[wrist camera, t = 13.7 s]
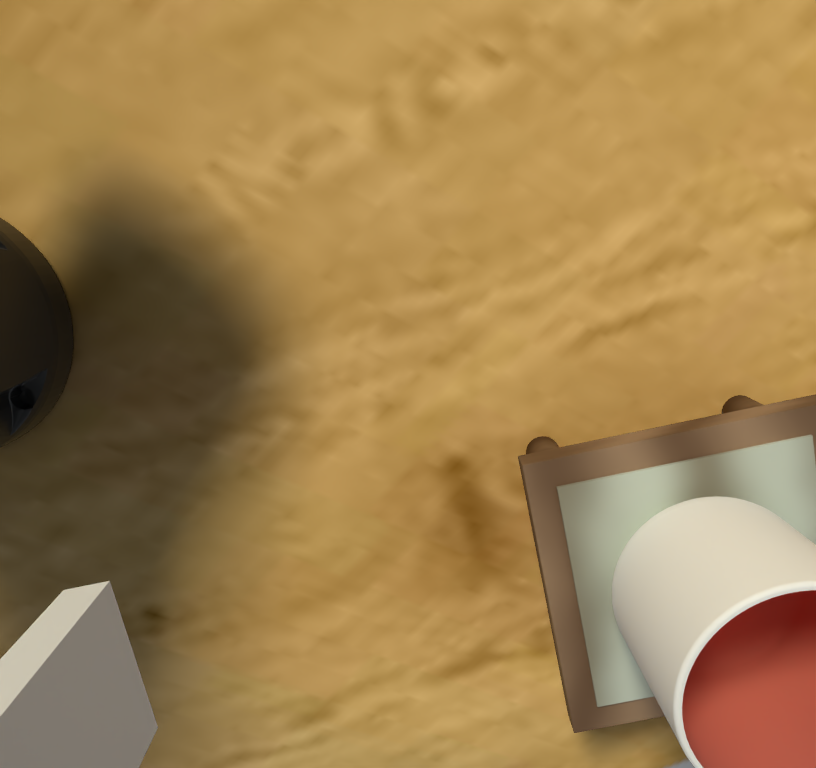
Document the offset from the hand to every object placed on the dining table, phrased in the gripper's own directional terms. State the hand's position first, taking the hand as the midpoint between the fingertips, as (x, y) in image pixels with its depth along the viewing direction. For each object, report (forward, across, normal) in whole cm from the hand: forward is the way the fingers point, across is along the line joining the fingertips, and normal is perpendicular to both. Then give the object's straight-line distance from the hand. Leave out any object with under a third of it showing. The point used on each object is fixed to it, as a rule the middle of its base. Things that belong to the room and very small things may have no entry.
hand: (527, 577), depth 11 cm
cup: (+24, +11, -15) cm, 30 cm away
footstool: (+31, +11, -15) cm, 36 cm away
